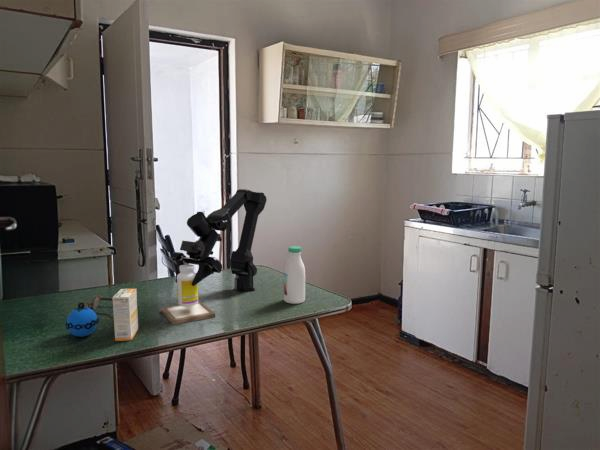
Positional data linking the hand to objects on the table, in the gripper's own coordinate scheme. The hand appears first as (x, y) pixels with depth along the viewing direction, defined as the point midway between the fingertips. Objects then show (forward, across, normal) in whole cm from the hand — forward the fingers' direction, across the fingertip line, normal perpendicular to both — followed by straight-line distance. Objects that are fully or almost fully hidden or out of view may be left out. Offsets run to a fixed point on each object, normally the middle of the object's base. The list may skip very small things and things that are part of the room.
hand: (184, 283), depth 152 cm
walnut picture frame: (+7, 0, +8) cm, 11 cm away
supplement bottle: (+4, 0, +6) cm, 7 cm away
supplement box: (+23, -3, -8) cm, 24 cm away
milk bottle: (-14, +24, +30) cm, 41 cm away
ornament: (+27, -14, -12) cm, 33 cm away
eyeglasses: (+15, -24, 0) cm, 28 cm away
